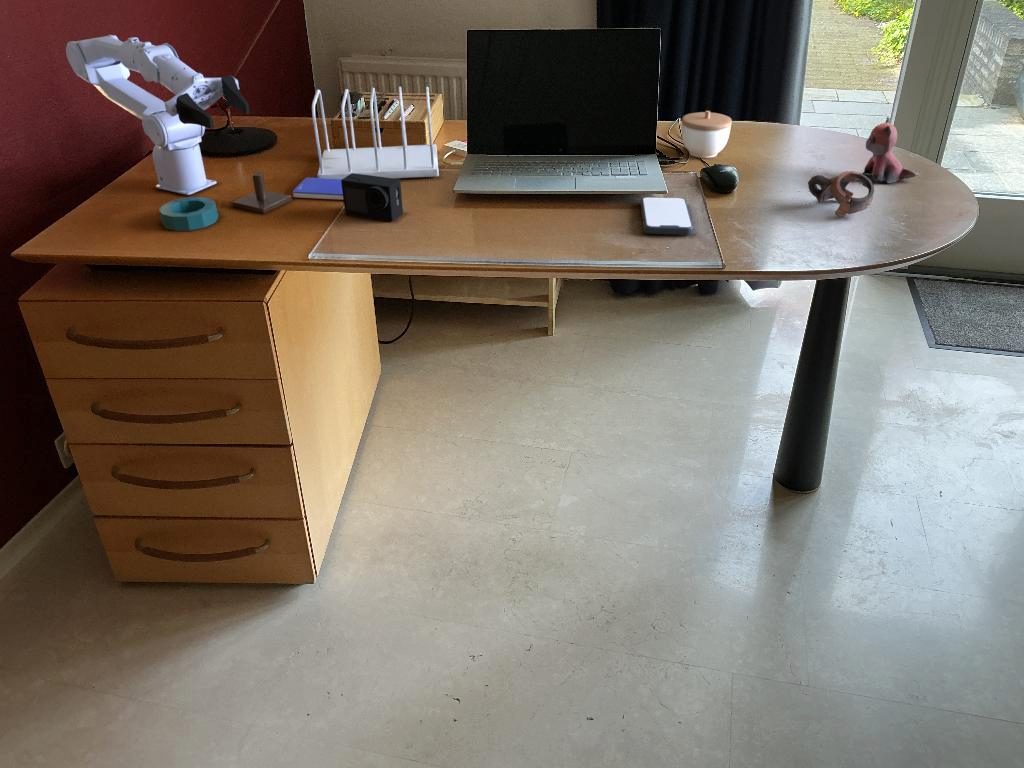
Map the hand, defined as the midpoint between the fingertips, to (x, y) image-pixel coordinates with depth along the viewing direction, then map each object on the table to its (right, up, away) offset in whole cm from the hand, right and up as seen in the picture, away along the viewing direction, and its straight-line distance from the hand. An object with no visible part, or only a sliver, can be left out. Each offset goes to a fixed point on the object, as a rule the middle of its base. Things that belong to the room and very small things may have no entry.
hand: (229, 116), depth 156 cm
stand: (+2, -13, +13) cm, 19 cm away
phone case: (+80, -18, +4) cm, 82 cm away
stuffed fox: (+129, -7, +21) cm, 131 cm away
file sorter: (+23, -2, +30) cm, 38 cm away
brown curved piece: (+113, -15, +8) cm, 115 cm away
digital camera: (+25, -17, +7) cm, 31 cm away
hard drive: (+15, -10, +18) cm, 25 cm away
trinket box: (+94, +3, +36) cm, 101 cm away
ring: (-9, -18, +6) cm, 21 cm away
